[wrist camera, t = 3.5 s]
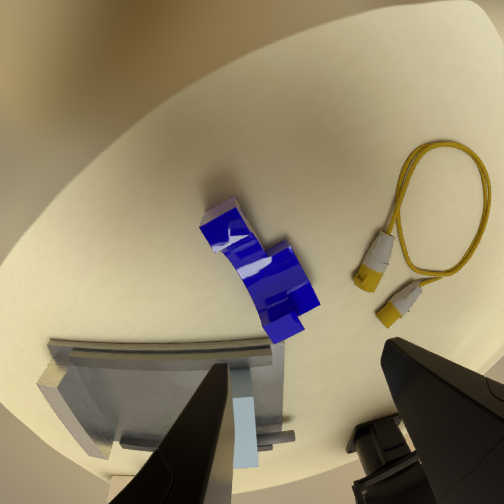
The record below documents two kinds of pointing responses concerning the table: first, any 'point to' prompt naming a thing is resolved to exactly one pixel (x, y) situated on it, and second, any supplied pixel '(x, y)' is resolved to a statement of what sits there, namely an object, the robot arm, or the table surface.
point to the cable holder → (262, 270)
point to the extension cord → (383, 245)
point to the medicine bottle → (117, 485)
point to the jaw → (249, 422)
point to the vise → (150, 387)
